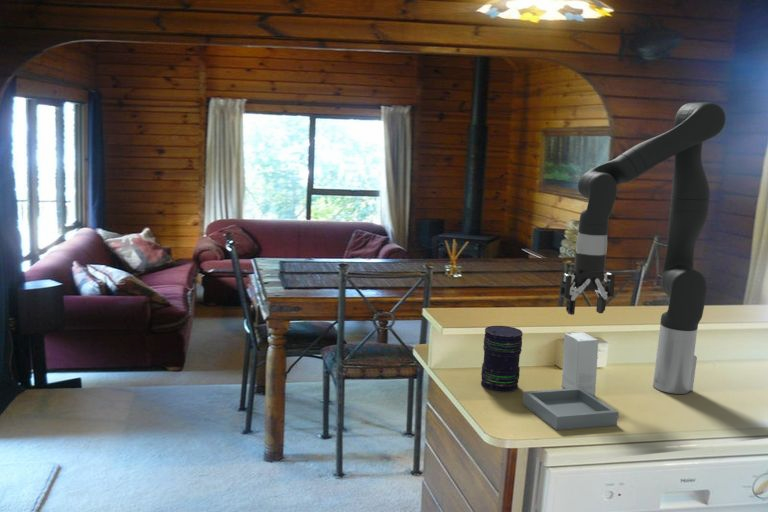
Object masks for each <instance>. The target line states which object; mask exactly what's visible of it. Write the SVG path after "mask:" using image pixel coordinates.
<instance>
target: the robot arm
mask: <svg viewBox="0 0 768 512" xmlns="http://www.w3.org/2000/svg"><path fill="white" fill-rule="evenodd" d="M726 120H727V119H726V114H725V111H724V109H723V108H722V107H721V106H720V105H719V104H716V103H713V102H707V101H706V102H705V101H704V102H700V101H699V102H688V103H685V104H683V105H682V106H681V107H680V108H679V109H678V110H677V112H676V114H675V117H674V121H673V122H674V123H673V128H671V129H670V130H667V131H666V132H664V133H661V134H660V135H657V136H655V137H652V138H649V139H647V140H644V141H642V142H639V143H638V144H635V145H634V146H632V147H630V148H629V149H627V150H626V151H624V152H622V153H621V154H620V155H618V156H617V157H615V158H614V159H612V160H609V161H606V162H605V163H602V164H600V165H598V166H595V167H593V168H591V169H589V170H588V171H586V172H585V173H584V174H583V175H582V176H581V177H580V179H578V183H577V189H578V191H579V194H580V195H581V196H583V198H586V199H588V202H587V207H586V209H585V210H582V211H581V213H580V216H579V221H578V230H577V231H578V233H577V238H576V244H575V254H574V265H573V267H574V272H573V274H568V273H566V272H565V273H563V274H562V278H561V285H560V292H559V296H560V297H562V298H564V299H566V306H565V311H566V312H567V314H568V315H571V316H573V315H575V311H576V310H575V309H576V299H577V298H578V296H579V295H581V294H582V293H583V292H589V291H591V292H595V293H596V295H597V296H598V297H597V299H596V309H595V311H596V312H597V313H598V314H604V312H605V310H606V303H607V299H608V298H610V297H614V295H615V276H616V275H615V274H614V273H611V272H605V273H604V271H605V269H606V263H607V262H606V261H607V249H608V231H609V229H608V228H609V217H610V215H611V212H612V209H613V207H614V204H615V201H616V198H617V192H618V190H617V185H621V184H627V183H631V182H632V181H634V180H635V179H637V178H639V177H641V176H642V175H644V174H646V172H649V171H650V170H651V169H653V168H655V167H656V166H658V165H660V164H661V163H662V162H665V161H667V159H670V158H671V157H673V156H674V160H673V161H674V162H673V172H672V173H673V174H672V187H671V194H670V204H669V205H670V206H669V220H668V230H667V246H666V249H665V250H666V251H665V257H664V262H663V266H662V272H661V276H660V277H661V278H660V284H661V288H662V290H663V292H664V293H665V295H667V296H668V297H669V302H668V309H667V310H666V311H665V312H663V313H662V314H661V316H660V325H659V333H658V338H657V339H658V340H657V347H656V348H657V349H656V357H655V365H654V373H653V381H652V382H653V383H652V386H653V387H654V388H655V389H656V390H658V391H661V392H663V393H669V394H676V395H678V394H679V395H685V394H689V392H692V391H693V390H694V383H695V375H696V369H697V360H698V357H697V356H696V355H695V352H696V351H695V350H696V344H697V343H696V342H697V336H698V335H697V334H698V327H699V323H700V321H701V320H702V318H703V315H704V309H705V303H706V297H707V293H708V292H707V289H708V287H707V286H708V285H707V280H706V277H705V276H704V274H702V272H700V271H698V270H696V269H694V260H695V258H694V257H695V256H694V255H695V249H696V245H697V242H698V239H699V237H700V235H701V234H702V231H703V229H704V227H705V225H706V223H707V219H708V215H709V209H710V207H709V206H710V196H711V195H710V193H711V192H710V186H709V183H708V179H707V175H706V172H705V170H704V166H703V161H702V149H703V142H705V141H707V140H708V141H709V140H710V139H713V138H714V137H716V136H717V135H719V134H720V133H721V132H722V130H723V129H724V128H725V127H724V126H725V124H726ZM603 281H604V286H603V285H602V282H603ZM572 283H573V284H572Z"/></svg>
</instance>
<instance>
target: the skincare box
mask: <svg viewBox="0 0 768 512" xmlns="http://www.w3.org/2000/svg"><path fill="white" fill-rule="evenodd" d="M563 342H564V343H563V357H562V358H563V359H562V360H563V361H562V374H561V375H562V377H561V387H562V388H563V389H569V388H582V389H583V390H585V391H587V392H588V393H590V394H591V395H593V396H594V397H595V396H596V384H597V371H598V370H597V369H598V368H597V367H598V354H599V353H598V351H599V350H598V349H599V339H597V338H595V337H594V336H591V335H589V334H587V333H585V332H583V331H582V332H581V331H580V332H569V333H568V332H566V333H564V340H563Z"/></svg>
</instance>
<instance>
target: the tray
mask: <svg viewBox="0 0 768 512" xmlns="http://www.w3.org/2000/svg"><path fill="white" fill-rule="evenodd" d="M522 397H523V398H522V405H523V406H525V407H526V408H527V409H528V410H530V411H531V412H532V413H534V414H535V415H536V416H537V417H539V419H541V420H542V421H544V422H545V423H546V424H548V425H549V426H550V427H551V428H552V429H553V430H555V431H562V430H574V429H585V428H596V427H609V426H617V425H618V418H619V411H617V409H614V408H613V407H612V406H610V405H608V404H606V403H605V402H604V401H602V400H601V399H599V398H597V397H596V396H595V395H594V396H593V395H591V394H590V393H588V392H587V391H585V390H583V389H582V388H569V389H565V388H557V389H555V388H554V389H544V390H543V389H542V390H540V389H539V390H527V391H523V395H522Z"/></svg>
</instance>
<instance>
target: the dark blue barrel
mask: <svg viewBox="0 0 768 512" xmlns="http://www.w3.org/2000/svg"><path fill="white" fill-rule="evenodd" d="M523 334H524V333H523V331H522V330H521V329H518V328H516V327H513V326H507V325H490V326H486V327H485V329H484V338H483V346H482V347H483V352H484V353H483V363H482V364H481V374H480V376H481V377H480V379H481V381H480V386H481V387H482V388H484V389H486V390H488V391H492V392H497V393H511V392H515V391H517V390H518V389H519V384H518V383H519V380H520V356H521V352H522V347H523Z"/></svg>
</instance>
